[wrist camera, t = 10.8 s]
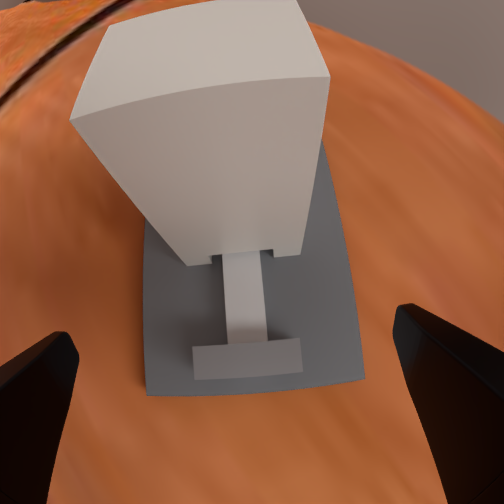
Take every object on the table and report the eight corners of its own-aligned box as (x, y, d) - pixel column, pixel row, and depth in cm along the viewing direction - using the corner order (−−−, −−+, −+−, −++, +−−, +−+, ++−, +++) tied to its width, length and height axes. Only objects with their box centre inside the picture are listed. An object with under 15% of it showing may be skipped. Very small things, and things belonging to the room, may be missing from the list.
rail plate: (360, 378, 17) (378, 380, 13) (152, 394, 17) (128, 399, 14) (308, 104, 23) (311, 72, 20) (159, 122, 24) (146, 94, 21)
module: (300, 254, 18) (330, 76, 6) (187, 266, 18) (69, 120, 7) (287, 171, 20) (290, -12, 8) (186, 183, 20) (113, 18, 9)
